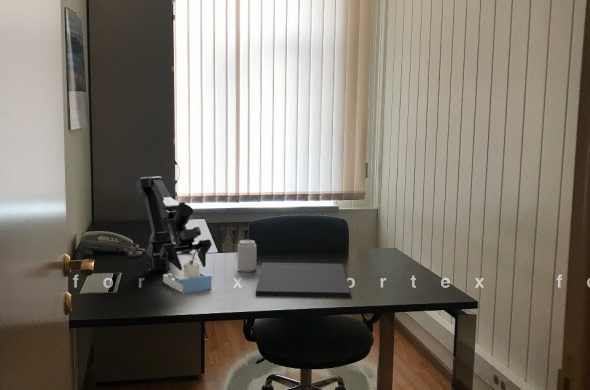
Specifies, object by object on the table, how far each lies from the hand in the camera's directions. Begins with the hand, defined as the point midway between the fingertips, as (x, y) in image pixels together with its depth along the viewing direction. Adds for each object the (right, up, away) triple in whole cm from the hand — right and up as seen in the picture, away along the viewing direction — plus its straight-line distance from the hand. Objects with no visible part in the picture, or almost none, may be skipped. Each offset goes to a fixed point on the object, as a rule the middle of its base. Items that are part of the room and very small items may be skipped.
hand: (193, 268), depth 225 cm
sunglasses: (-13, -1, +49) cm, 51 cm away
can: (+17, -4, +28) cm, 33 cm away
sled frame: (-3, -7, +5) cm, 9 cm away
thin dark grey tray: (+39, -7, +14) cm, 42 cm away
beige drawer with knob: (-1, -8, +2) cm, 8 cm away
